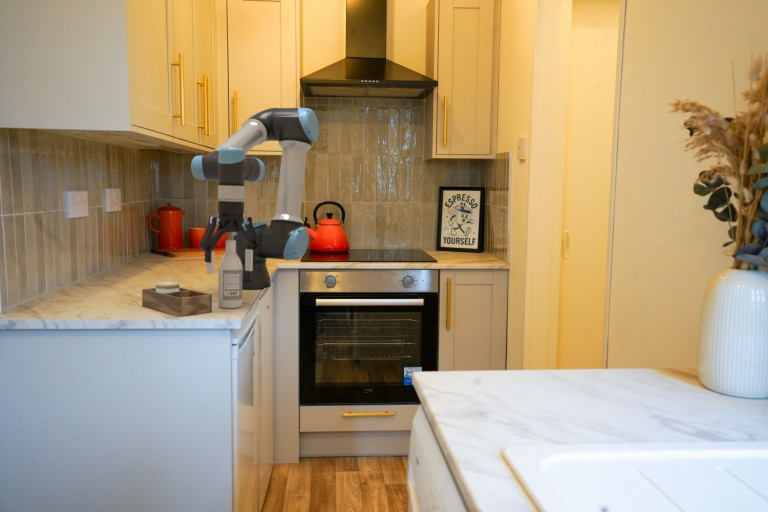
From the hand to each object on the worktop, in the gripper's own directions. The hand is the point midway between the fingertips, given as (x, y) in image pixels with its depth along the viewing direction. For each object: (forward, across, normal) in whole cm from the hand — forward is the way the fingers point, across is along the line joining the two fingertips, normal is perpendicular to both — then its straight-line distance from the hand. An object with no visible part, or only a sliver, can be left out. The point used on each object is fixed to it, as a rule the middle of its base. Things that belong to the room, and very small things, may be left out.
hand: (230, 272), depth 196 cm
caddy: (+10, +14, -7) cm, 18 cm away
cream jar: (+10, +14, -12) cm, 21 cm away
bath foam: (+11, 0, 0) cm, 11 cm away
